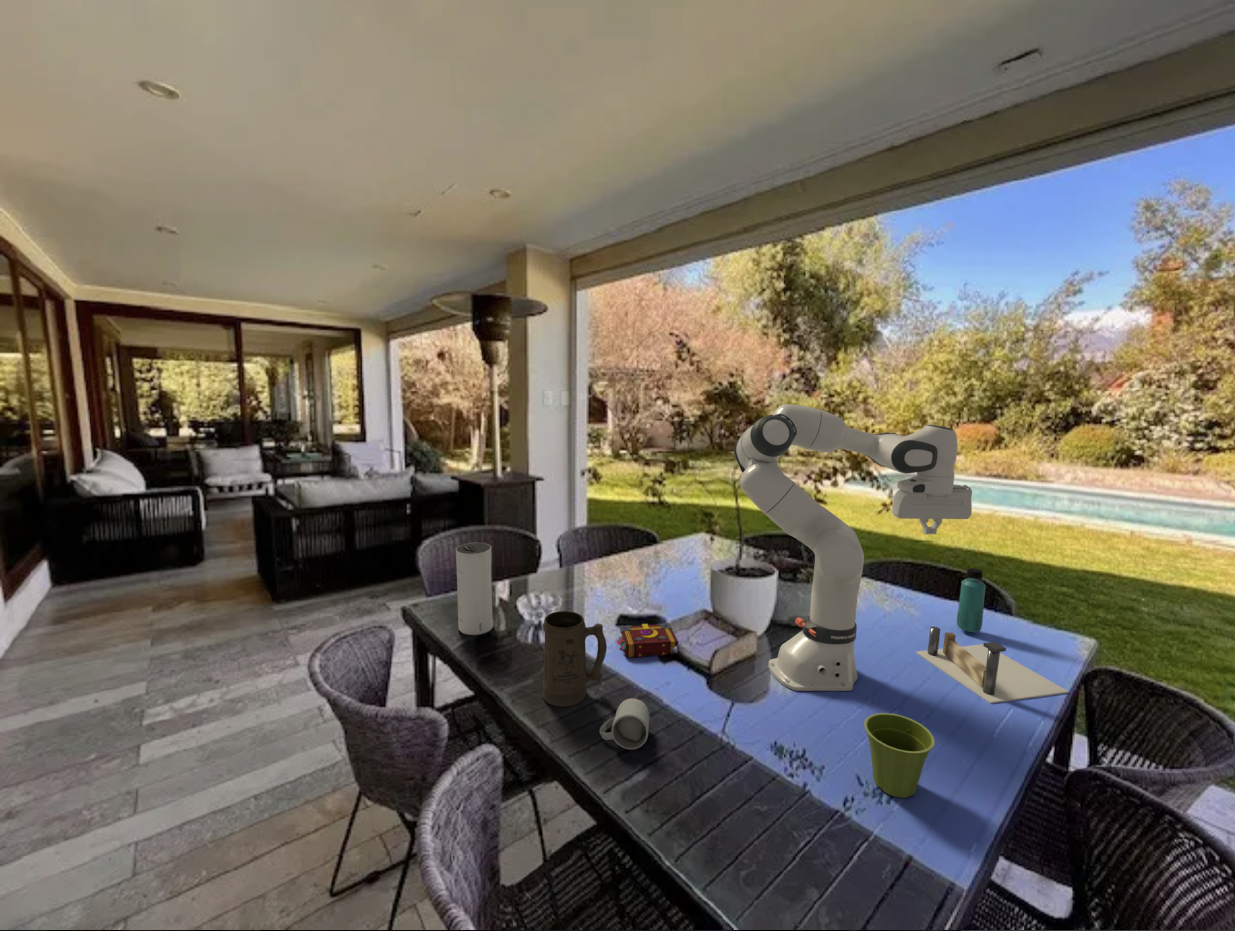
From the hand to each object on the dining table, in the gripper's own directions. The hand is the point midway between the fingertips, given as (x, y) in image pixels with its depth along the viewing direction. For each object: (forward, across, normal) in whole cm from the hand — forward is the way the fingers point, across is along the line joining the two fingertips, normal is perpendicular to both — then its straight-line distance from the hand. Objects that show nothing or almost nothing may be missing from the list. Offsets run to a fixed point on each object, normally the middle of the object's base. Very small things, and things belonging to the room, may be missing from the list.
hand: (929, 533), depth 152 cm
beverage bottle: (+34, -21, -11) cm, 42 cm away
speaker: (+34, +129, -11) cm, 134 cm away
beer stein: (+34, +96, +23) cm, 105 cm away
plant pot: (+34, +33, +53) cm, 71 cm away
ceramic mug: (+34, +84, +40) cm, 99 cm away
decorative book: (+35, +78, 0) cm, 85 cm away
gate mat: (+34, -12, +12) cm, 38 cm away
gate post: (+34, -6, +22) cm, 41 cm away
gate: (+33, -6, +12) cm, 36 cm away
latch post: (+34, -2, +4) cm, 34 cm away
